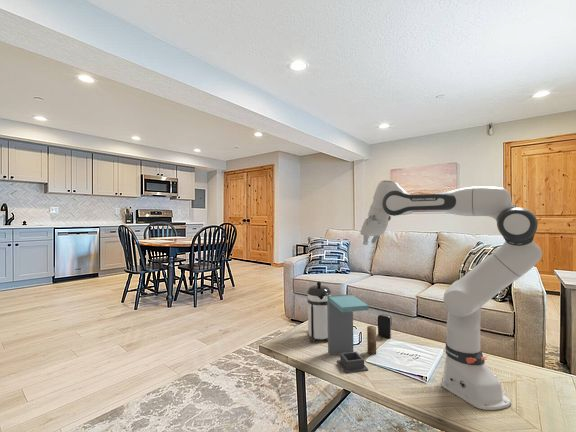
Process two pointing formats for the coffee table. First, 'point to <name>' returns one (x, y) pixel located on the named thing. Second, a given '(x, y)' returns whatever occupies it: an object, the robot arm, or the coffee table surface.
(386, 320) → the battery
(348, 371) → the socket
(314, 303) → the coffee press
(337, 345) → the teal capped pillar
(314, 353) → the coffee table surface
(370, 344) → the peg
